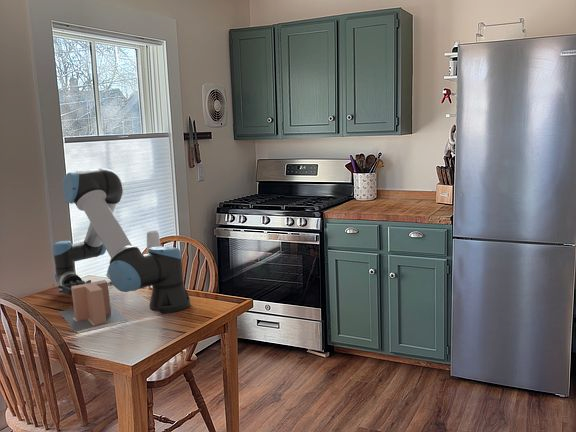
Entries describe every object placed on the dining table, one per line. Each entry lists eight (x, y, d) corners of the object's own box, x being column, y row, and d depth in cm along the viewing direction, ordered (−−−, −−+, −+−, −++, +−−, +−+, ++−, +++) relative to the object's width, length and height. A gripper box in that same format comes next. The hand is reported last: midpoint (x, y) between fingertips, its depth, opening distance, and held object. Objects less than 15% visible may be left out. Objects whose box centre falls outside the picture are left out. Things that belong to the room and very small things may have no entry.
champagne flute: (166, 286, 248) (160, 232, 244) (150, 289, 246) (144, 233, 243) (165, 283, 255) (159, 229, 251) (149, 285, 253) (143, 231, 249)
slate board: (59, 314, 220) (58, 311, 219) (106, 304, 229) (106, 301, 229) (75, 334, 196) (74, 331, 196) (127, 321, 205) (127, 319, 205)
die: (124, 278, 270) (109, 264, 268) (133, 271, 265) (118, 256, 263) (114, 289, 264) (98, 274, 262) (123, 282, 258) (108, 266, 257)
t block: (75, 318, 210) (70, 286, 208) (108, 311, 216) (104, 280, 214) (83, 327, 199) (78, 294, 197) (118, 319, 205) (114, 287, 203)
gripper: (88, 288, 241) (103, 300, 221) (55, 294, 234) (67, 308, 215) (86, 270, 240) (101, 281, 220) (53, 276, 233) (65, 288, 213)
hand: (84, 294), depth 217 cm, fingers closed
